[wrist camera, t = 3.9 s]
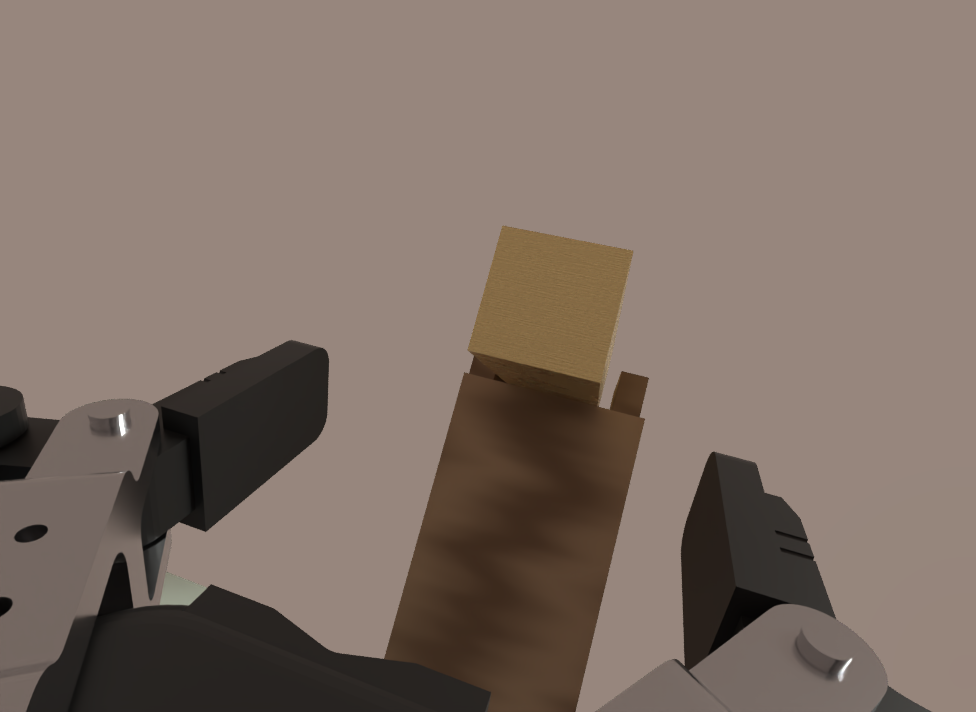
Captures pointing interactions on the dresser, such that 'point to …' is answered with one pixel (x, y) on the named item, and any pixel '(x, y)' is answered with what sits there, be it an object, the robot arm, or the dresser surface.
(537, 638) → the stand
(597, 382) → the rail
